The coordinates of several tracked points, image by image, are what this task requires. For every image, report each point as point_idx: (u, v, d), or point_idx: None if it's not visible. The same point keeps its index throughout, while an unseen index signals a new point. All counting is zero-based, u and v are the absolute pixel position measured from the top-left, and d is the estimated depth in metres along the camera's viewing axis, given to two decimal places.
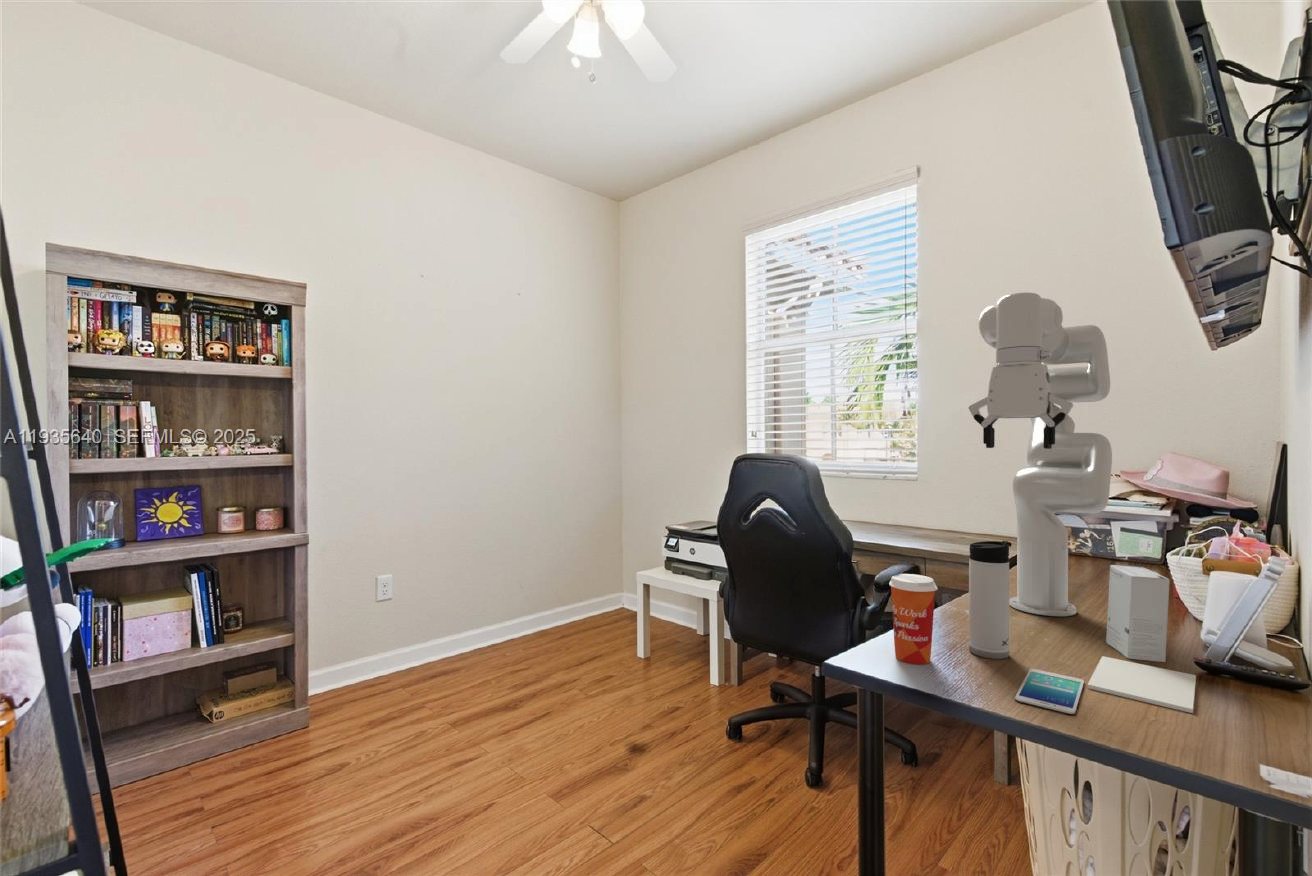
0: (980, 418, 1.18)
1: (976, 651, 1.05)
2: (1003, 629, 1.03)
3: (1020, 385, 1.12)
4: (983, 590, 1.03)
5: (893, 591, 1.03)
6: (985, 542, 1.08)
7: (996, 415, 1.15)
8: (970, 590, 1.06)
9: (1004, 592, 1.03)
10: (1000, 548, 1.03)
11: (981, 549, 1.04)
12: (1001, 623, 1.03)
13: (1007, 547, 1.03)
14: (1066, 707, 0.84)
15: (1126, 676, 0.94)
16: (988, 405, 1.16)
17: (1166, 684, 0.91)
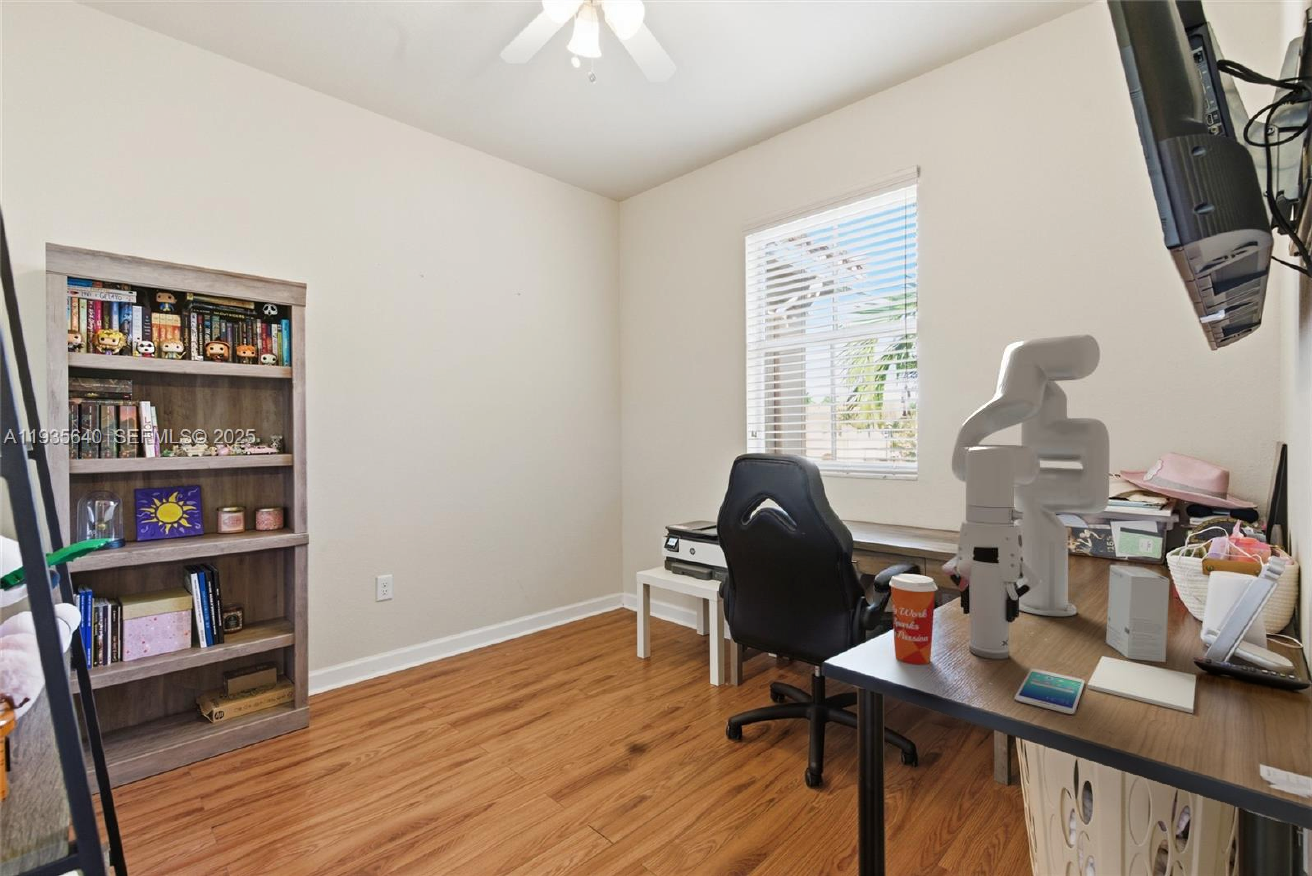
0: (957, 580, 1.09)
1: (976, 651, 1.05)
2: (1003, 629, 1.03)
3: (990, 547, 1.03)
4: (984, 590, 1.03)
5: (893, 591, 1.03)
6: None
7: (966, 575, 1.07)
8: (970, 590, 1.06)
9: (1004, 592, 1.03)
10: None
11: (981, 549, 1.04)
12: (1001, 623, 1.03)
13: None
14: (1066, 707, 0.84)
15: (1126, 676, 0.94)
16: (957, 563, 1.08)
17: (1166, 684, 0.91)
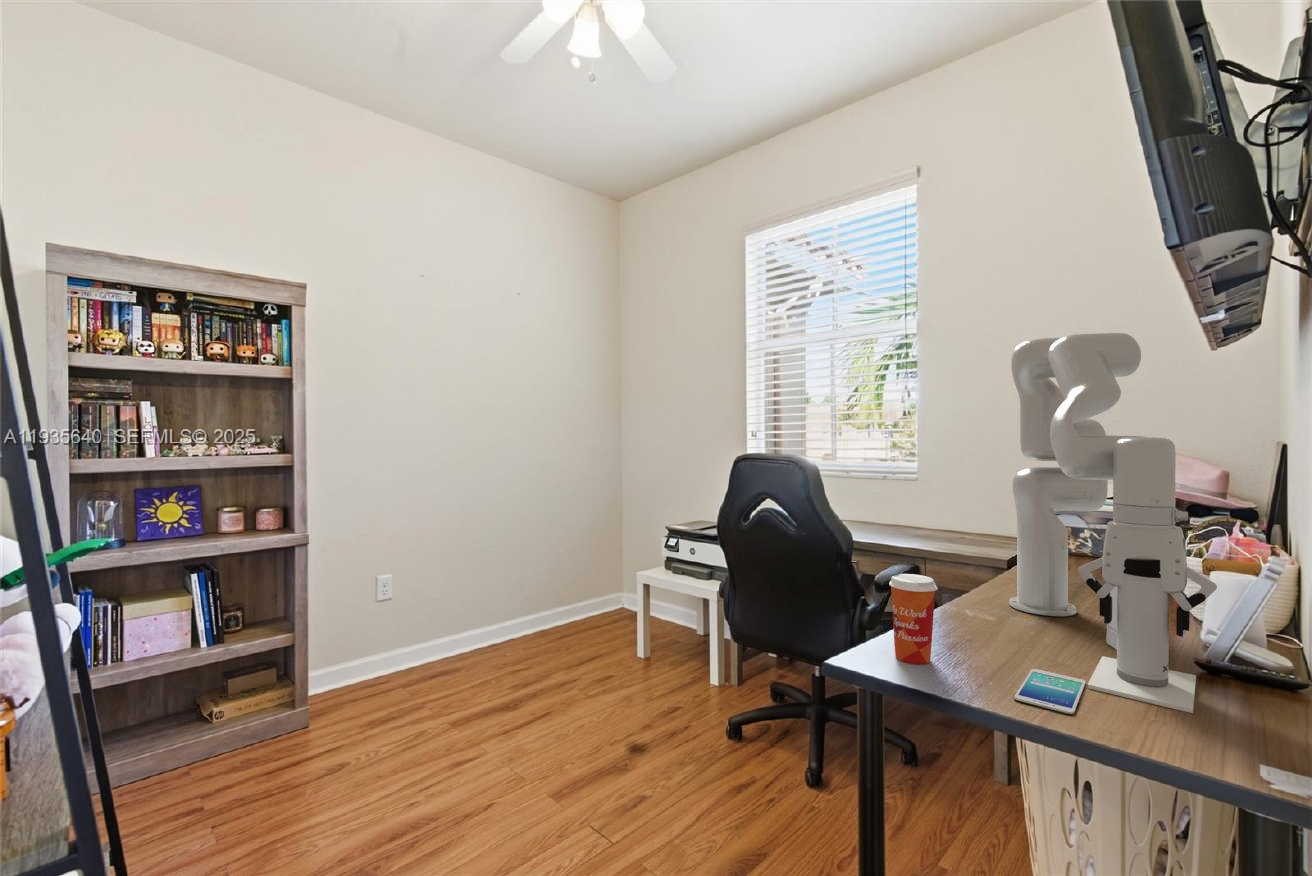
0: (1095, 585, 0.96)
1: (1130, 677, 0.92)
2: (1164, 653, 0.90)
3: (1148, 552, 0.91)
4: (1141, 609, 0.90)
5: (893, 591, 1.03)
6: None
7: (1115, 584, 0.94)
8: (1121, 608, 0.93)
9: (1165, 611, 0.90)
10: None
11: (1138, 562, 0.91)
12: (1162, 646, 0.90)
13: None
14: (1065, 707, 0.84)
15: None
16: (1104, 570, 0.95)
17: None
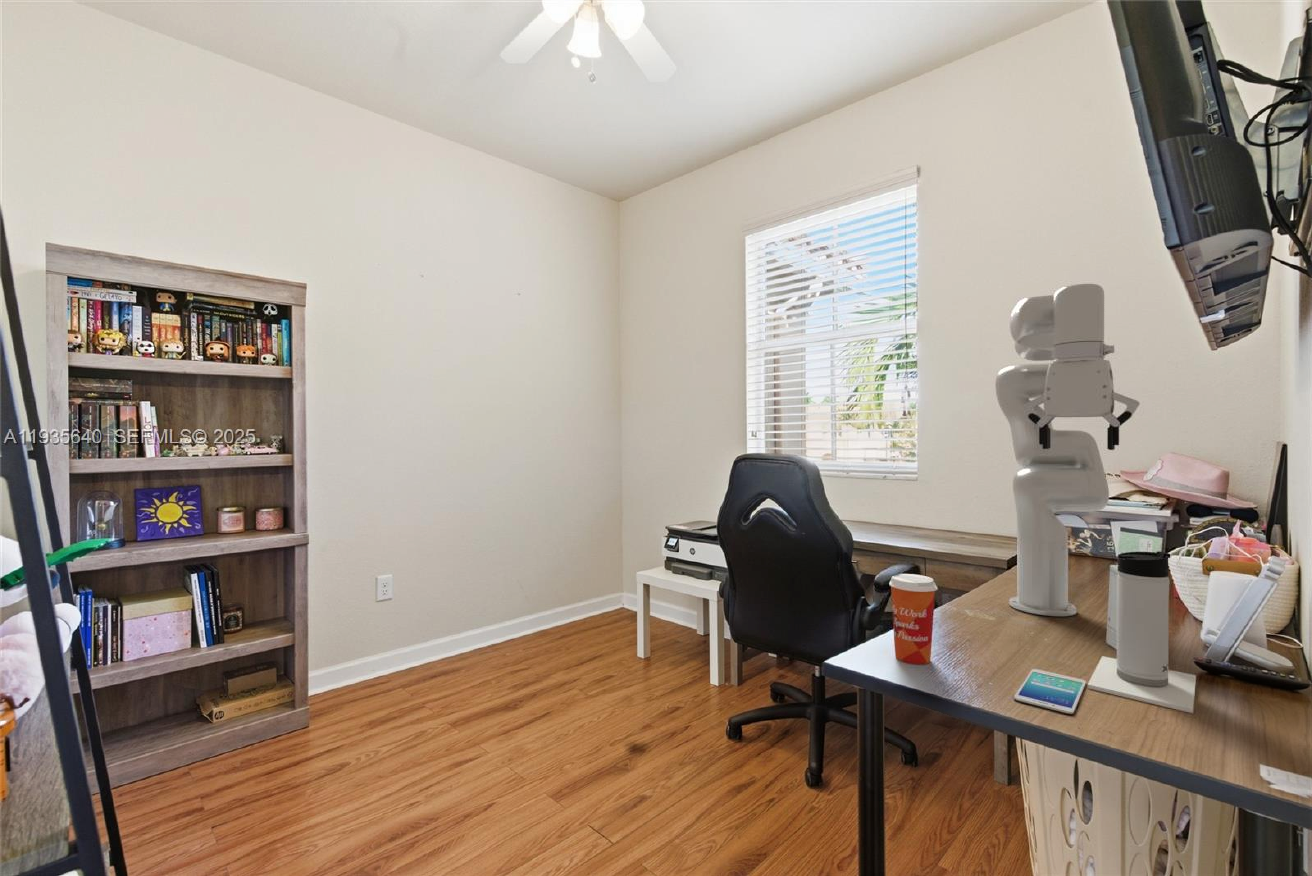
0: (1035, 417, 1.11)
1: (1130, 677, 0.92)
2: (1164, 653, 0.90)
3: (1081, 382, 1.05)
4: (1140, 608, 0.91)
5: (893, 591, 1.03)
6: (1133, 553, 0.96)
7: (1054, 414, 1.08)
8: (1120, 608, 0.93)
9: (1165, 611, 0.90)
10: (1160, 560, 0.90)
11: (1137, 561, 0.91)
12: (1162, 646, 0.90)
13: (1167, 559, 0.90)
14: (1065, 707, 0.84)
15: None
16: (1045, 404, 1.09)
17: None
